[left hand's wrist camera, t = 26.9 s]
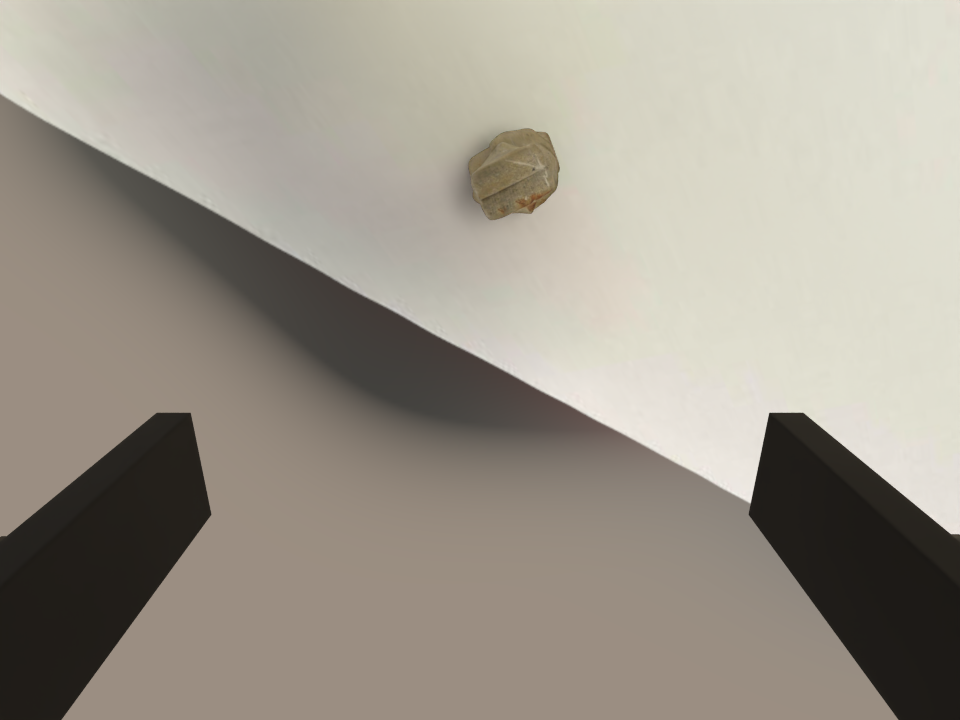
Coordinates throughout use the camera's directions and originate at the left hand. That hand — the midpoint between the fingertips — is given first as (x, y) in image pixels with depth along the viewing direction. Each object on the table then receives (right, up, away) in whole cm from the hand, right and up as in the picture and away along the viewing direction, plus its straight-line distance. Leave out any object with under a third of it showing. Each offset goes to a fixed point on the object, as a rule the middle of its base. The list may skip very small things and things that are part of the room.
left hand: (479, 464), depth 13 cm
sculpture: (+3, +19, +36) cm, 41 cm away
